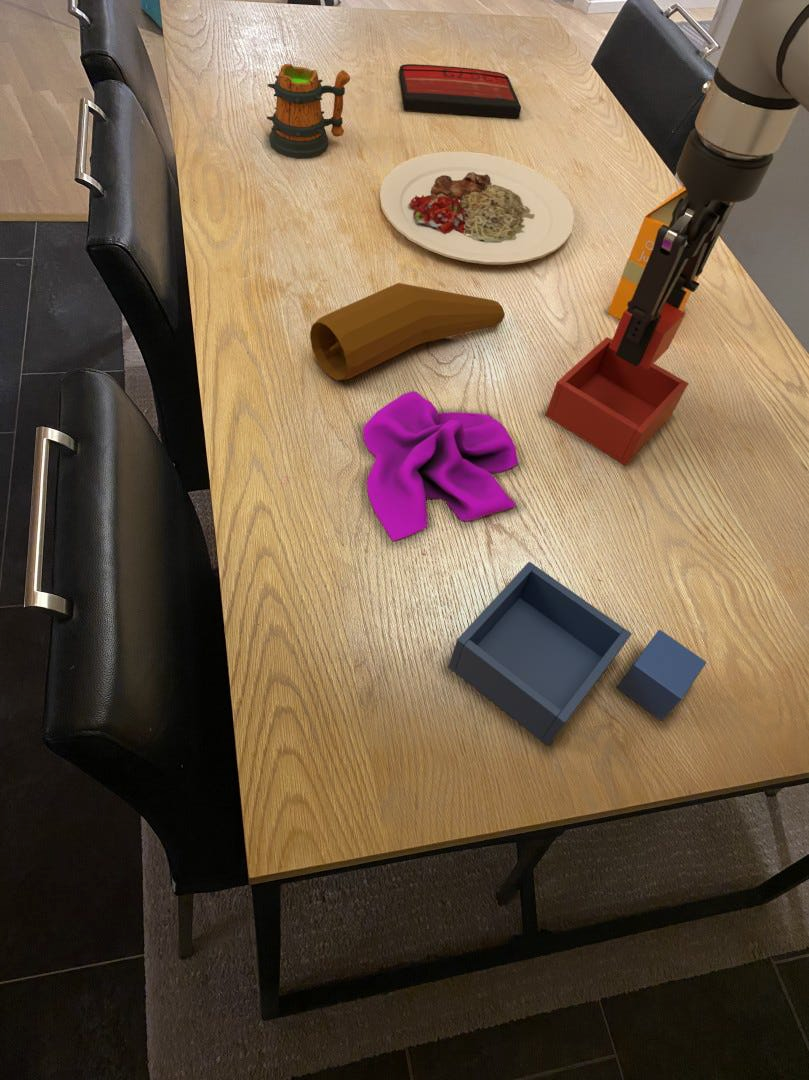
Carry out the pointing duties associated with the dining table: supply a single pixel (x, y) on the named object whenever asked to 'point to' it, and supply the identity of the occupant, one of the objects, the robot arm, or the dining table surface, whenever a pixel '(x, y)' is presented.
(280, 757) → the dining table surface
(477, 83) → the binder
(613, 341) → the red block
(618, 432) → the red bin
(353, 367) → the horn
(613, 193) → the dining table surface
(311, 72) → the mug
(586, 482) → the dining table surface
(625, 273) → the orange juice
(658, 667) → the blue block
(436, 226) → the plated food
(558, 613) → the blue bin
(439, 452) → the cloth
